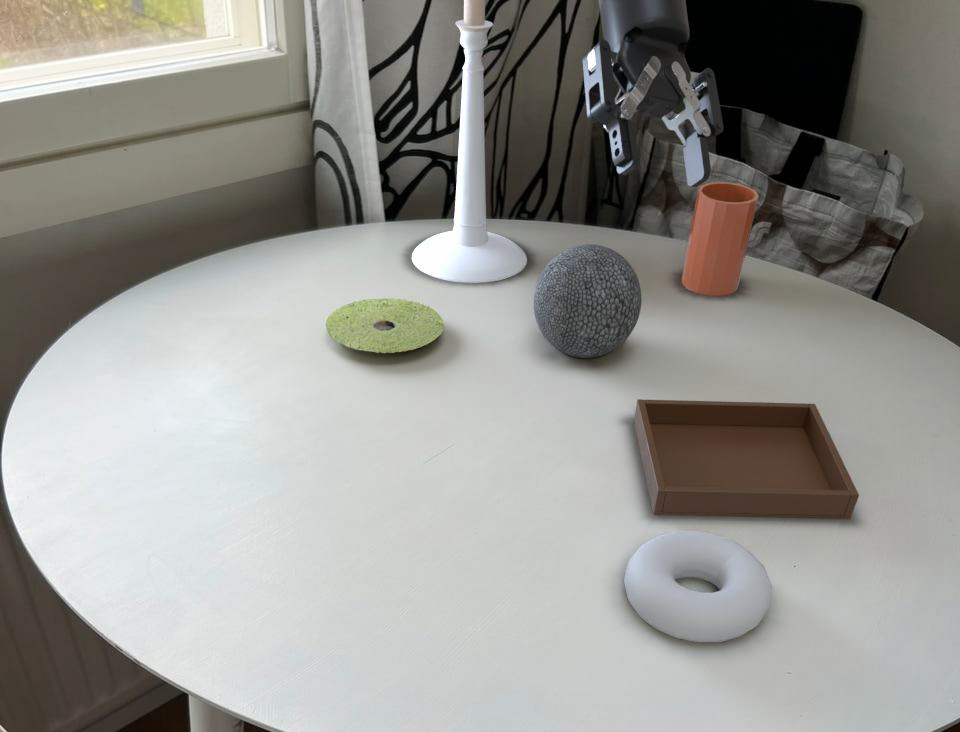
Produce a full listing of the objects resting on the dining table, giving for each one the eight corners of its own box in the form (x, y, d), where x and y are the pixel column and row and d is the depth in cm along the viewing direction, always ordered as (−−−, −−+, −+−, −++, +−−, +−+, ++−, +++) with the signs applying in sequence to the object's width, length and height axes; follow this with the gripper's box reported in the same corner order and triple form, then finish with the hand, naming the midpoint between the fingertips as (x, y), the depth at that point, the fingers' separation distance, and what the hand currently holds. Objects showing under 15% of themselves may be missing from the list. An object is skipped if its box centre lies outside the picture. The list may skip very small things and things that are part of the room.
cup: (730, 277, 105) (751, 182, 98) (741, 301, 101) (764, 204, 94) (677, 276, 105) (693, 181, 98) (685, 300, 101) (703, 202, 94)
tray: (806, 432, 83) (815, 403, 81) (848, 524, 73) (859, 495, 71) (632, 427, 82) (637, 398, 80) (652, 520, 73) (658, 490, 71)
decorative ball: (580, 389, 87) (593, 282, 80) (508, 347, 92) (514, 243, 85) (654, 356, 92) (672, 253, 85) (582, 318, 97) (593, 218, 90)
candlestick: (538, 284, 102) (562, -57, 81) (420, 290, 100) (414, -58, 79) (513, 237, 111) (529, -81, 90) (404, 242, 109) (396, -82, 88)
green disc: (344, 310, 97) (343, 291, 95) (453, 321, 96) (453, 302, 94) (313, 363, 89) (311, 344, 87) (431, 376, 88) (431, 357, 86)
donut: (592, 605, 66) (715, 676, 61) (597, 567, 64) (725, 637, 59) (673, 541, 71) (792, 601, 67) (681, 503, 69) (805, 563, 64)
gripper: (605, -51, 79) (631, 144, 79) (728, -11, 86) (751, 167, 86) (553, 6, 85) (577, 186, 85) (671, 39, 92) (693, 205, 93)
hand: (664, 177), depth 86 cm, fingers open, 8 cm apart
